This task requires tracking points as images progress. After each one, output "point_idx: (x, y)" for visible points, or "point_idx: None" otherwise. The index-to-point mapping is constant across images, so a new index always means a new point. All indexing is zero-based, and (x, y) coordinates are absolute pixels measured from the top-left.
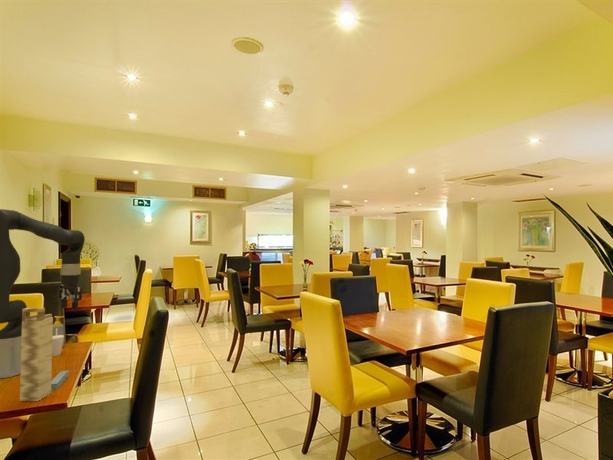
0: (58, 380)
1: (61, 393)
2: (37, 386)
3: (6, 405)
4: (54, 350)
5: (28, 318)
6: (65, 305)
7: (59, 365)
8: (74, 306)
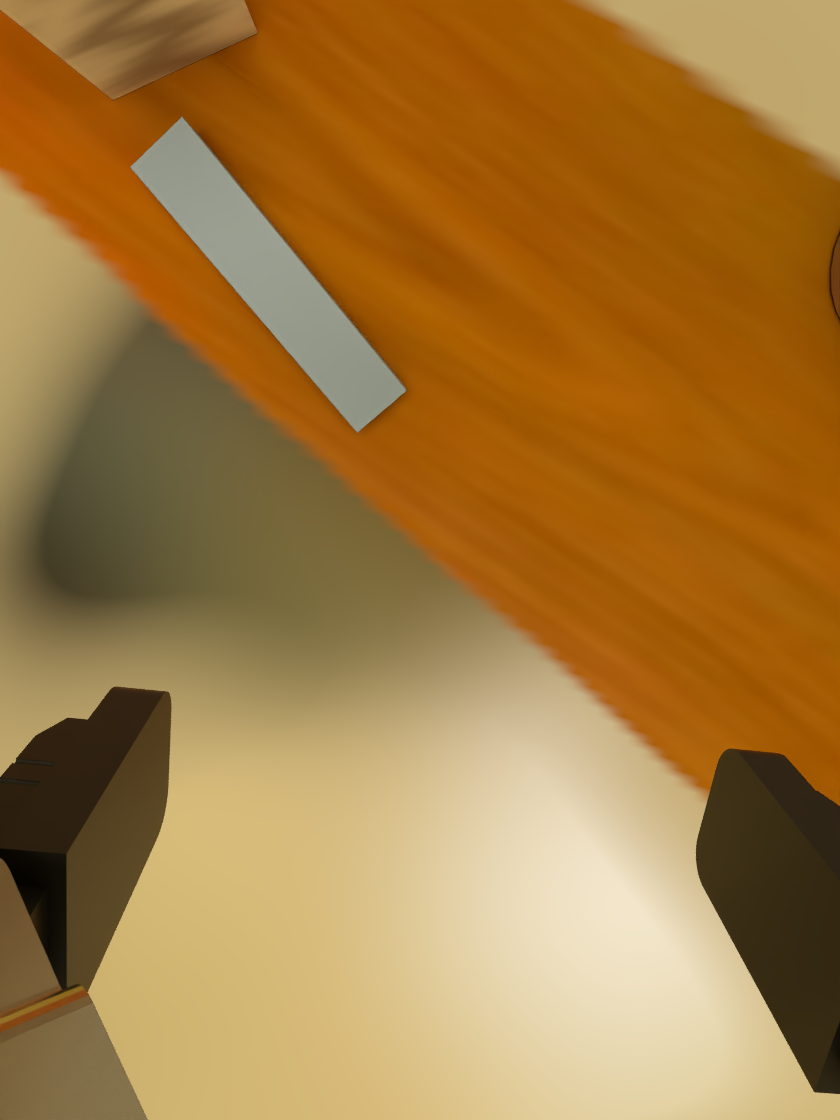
0: (194, 224)
1: (34, 140)
2: None
3: None
4: None
5: None
6: (731, 871)
7: (685, 568)
8: (10, 766)
